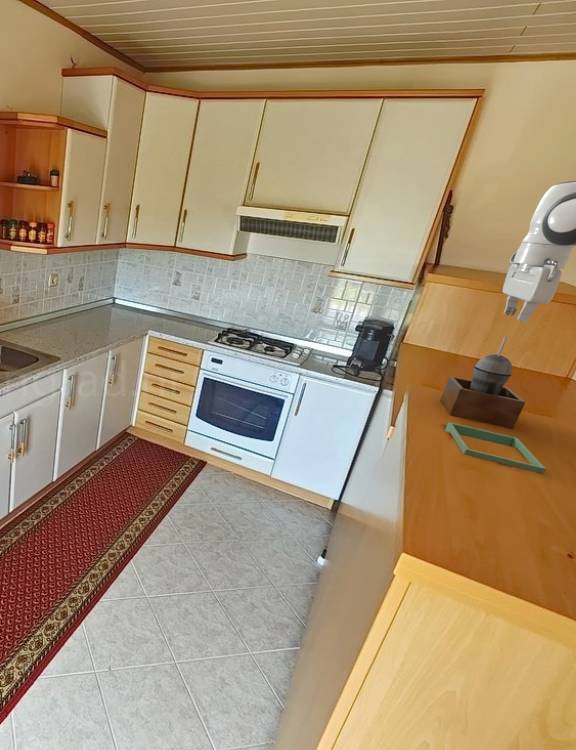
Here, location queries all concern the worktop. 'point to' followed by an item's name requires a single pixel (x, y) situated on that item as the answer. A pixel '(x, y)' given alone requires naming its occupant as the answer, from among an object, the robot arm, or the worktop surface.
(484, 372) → the beverage cup
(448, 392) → the brown rectangular open box
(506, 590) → the worktop surface
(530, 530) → the worktop surface
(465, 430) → the green rectangular frame
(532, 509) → the worktop surface
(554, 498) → the worktop surface
